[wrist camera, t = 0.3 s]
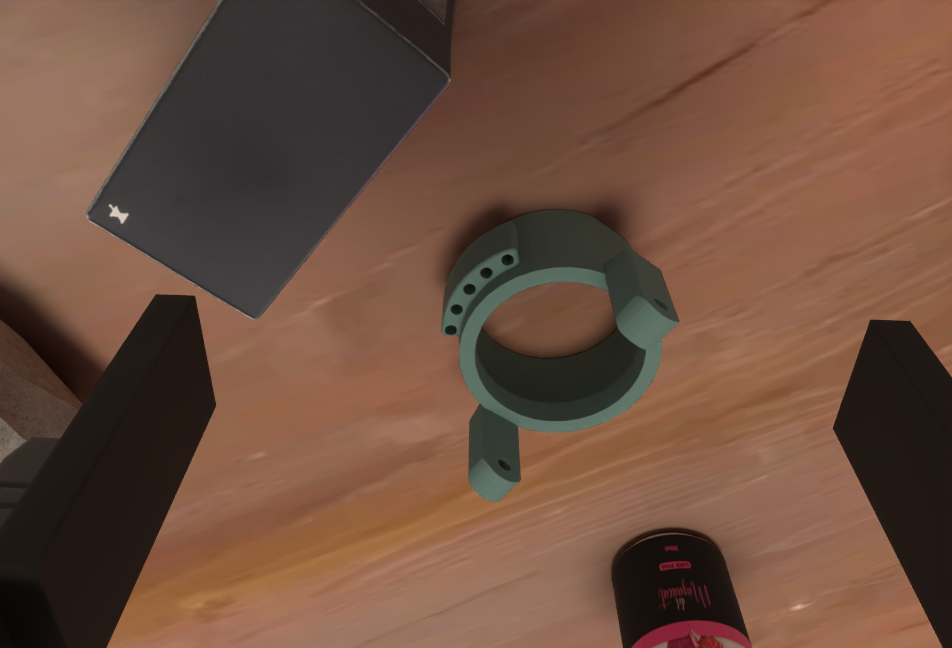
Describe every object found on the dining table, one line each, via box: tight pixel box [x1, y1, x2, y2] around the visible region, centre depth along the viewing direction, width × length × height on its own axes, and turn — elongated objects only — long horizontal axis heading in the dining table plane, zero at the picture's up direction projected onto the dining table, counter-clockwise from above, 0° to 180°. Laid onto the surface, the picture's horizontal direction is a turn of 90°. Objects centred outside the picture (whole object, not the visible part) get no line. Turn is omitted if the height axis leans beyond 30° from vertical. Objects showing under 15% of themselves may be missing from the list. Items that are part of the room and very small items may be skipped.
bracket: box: [441, 210, 679, 502], centre depth 35 cm, size 9×9×9 cm
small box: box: [86, 0, 455, 320], centre depth 28 cm, size 11×6×10 cm, turn 140°
